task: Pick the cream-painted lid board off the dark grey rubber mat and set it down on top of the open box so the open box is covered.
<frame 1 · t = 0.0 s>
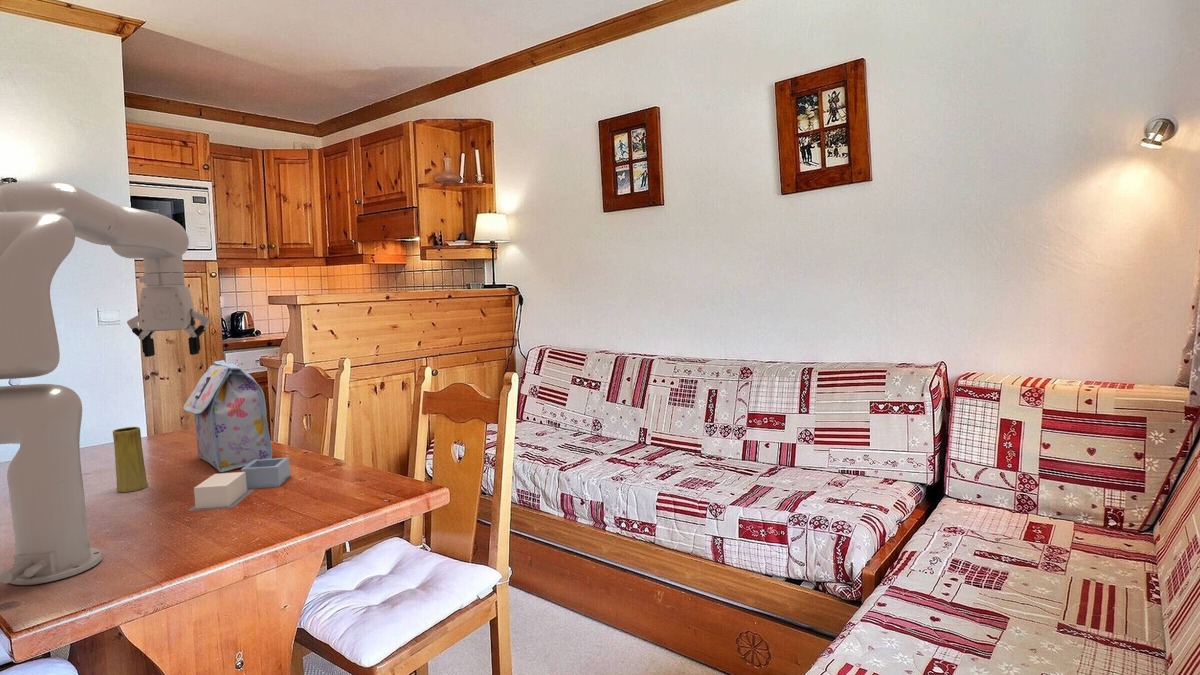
hand: (172, 355, 154), 31 cm above the table, fingers open, 9 cm apart
lunch bag: (230, 462, 178), on the table
open box: (267, 483, 157), on the table
lid: (222, 499, 145), resting on mat
mat: (222, 501, 145), on the table
vase: (132, 489, 157), on the table
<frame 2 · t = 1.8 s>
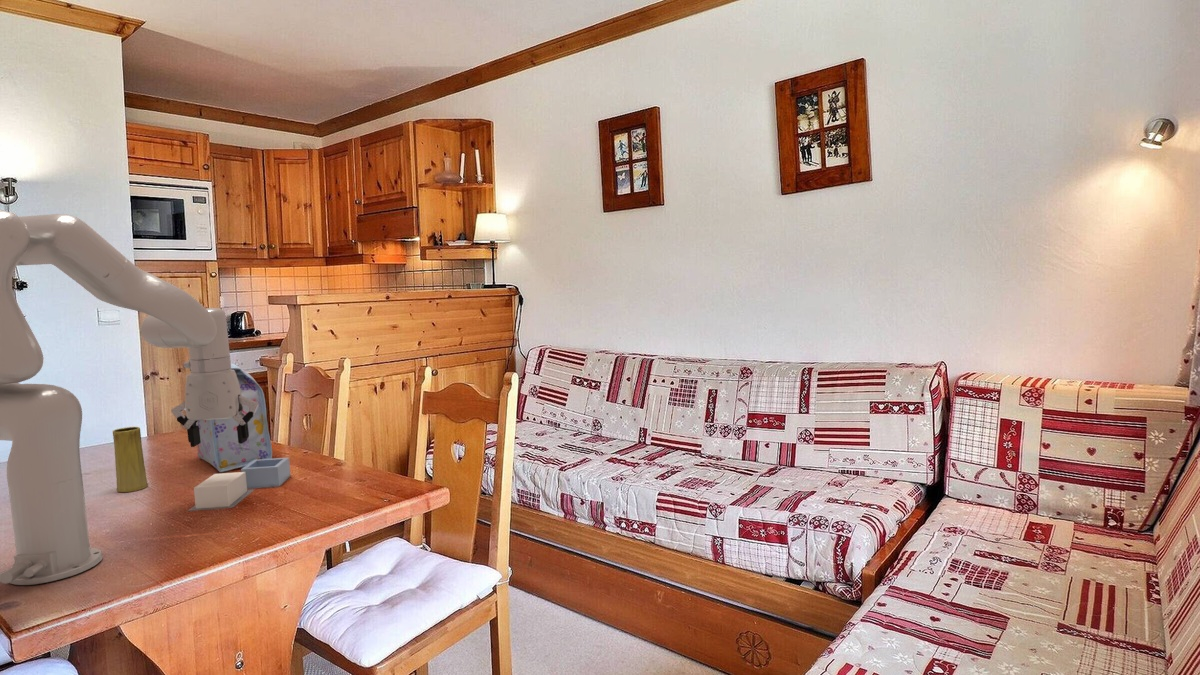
hand: (219, 443, 144), 13 cm above the table, fingers open, 9 cm apart
nothing on the table moved.
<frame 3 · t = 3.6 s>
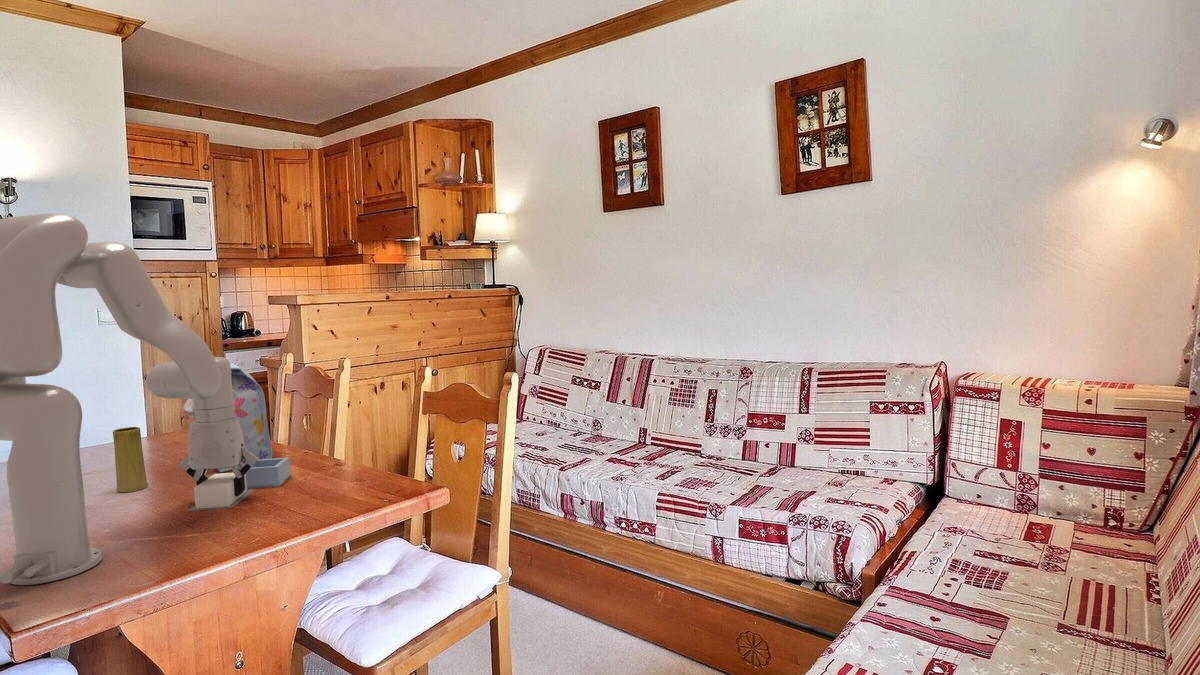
hand: (221, 494, 145), 1 cm above the table, fingers closed on lid, 6 cm apart
lid: (222, 499, 145), resting on mat, touching gripper
everything else where it was.
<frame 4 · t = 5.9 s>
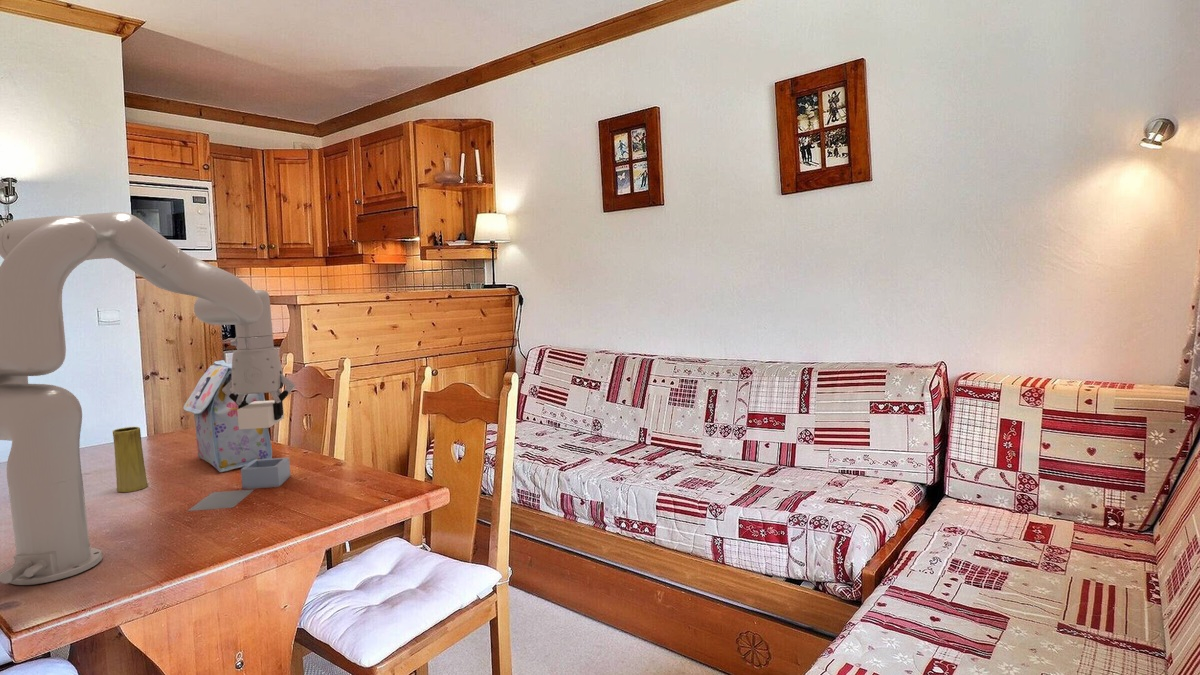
hand: (261, 419, 155), 16 cm above the table, fingers closed on lid, 6 cm apart
lid: (262, 423, 155), point 14 cm above the table, touching gripper
everything else where it was.
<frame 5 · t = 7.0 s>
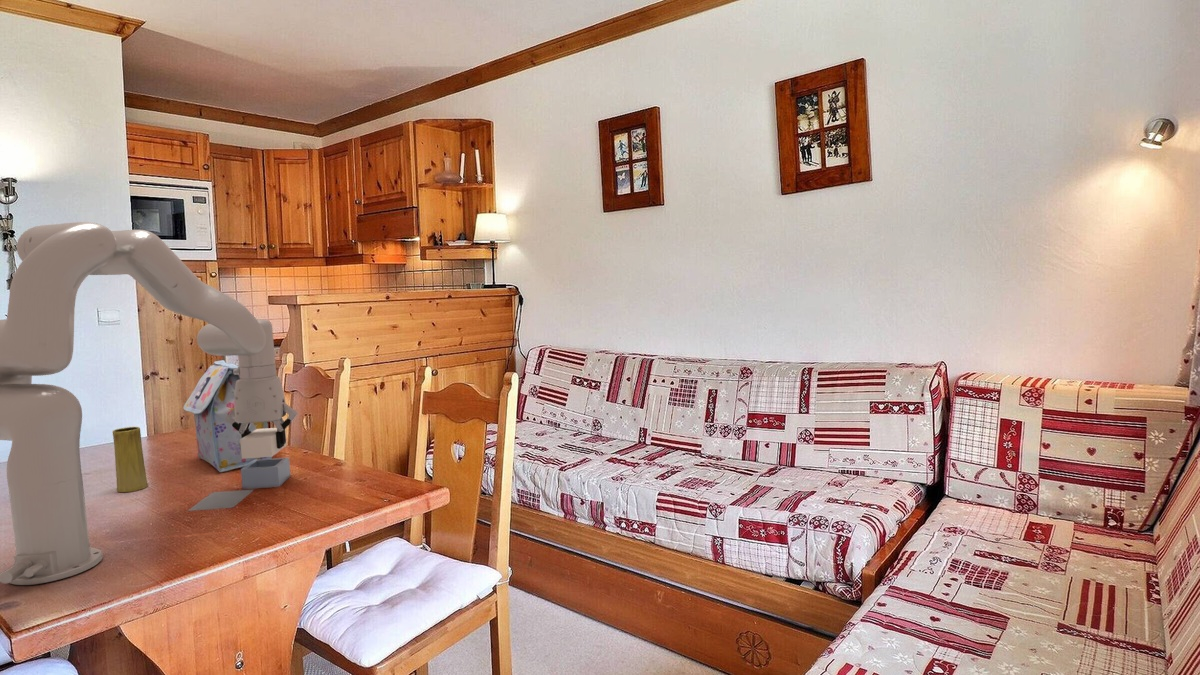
hand: (264, 447, 156), 9 cm above the table, fingers closed on lid, 6 cm apart
lid: (265, 451, 156), point 8 cm above the table, touching gripper
everything else where it was.
when the fingers open (8 cm above the table, at t = 8.1 s): lid drops 1 cm, resting on open box.
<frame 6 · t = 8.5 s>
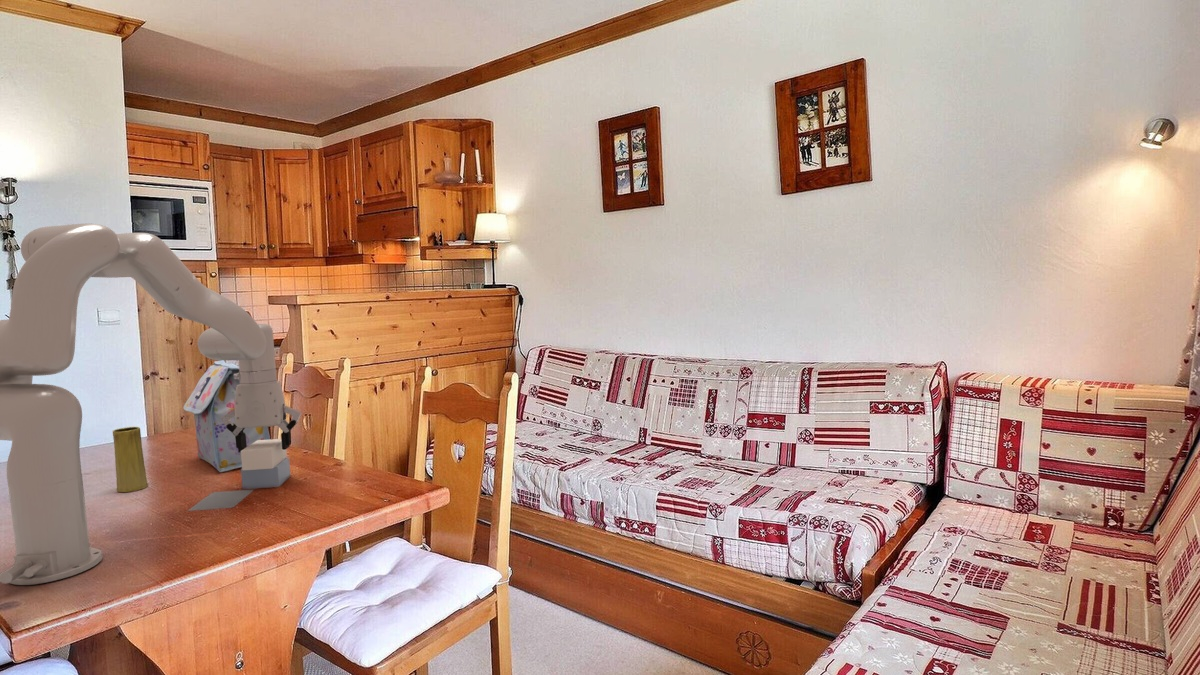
hand: (264, 449, 156), 8 cm above the table, fingers open, 9 cm apart
lid: (265, 463, 156), point 5 cm above the table, touching open box
everything else where it was.
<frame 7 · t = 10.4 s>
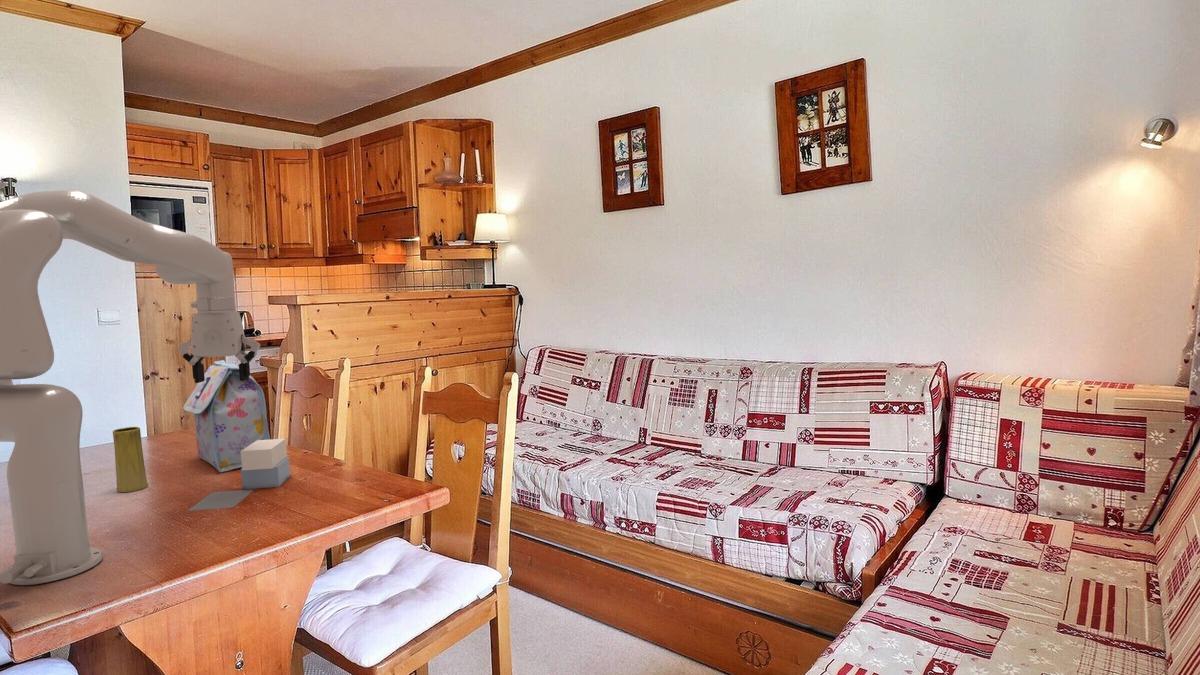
hand: (222, 381, 152), 25 cm above the table, fingers open, 9 cm apart
nothing on the table moved.
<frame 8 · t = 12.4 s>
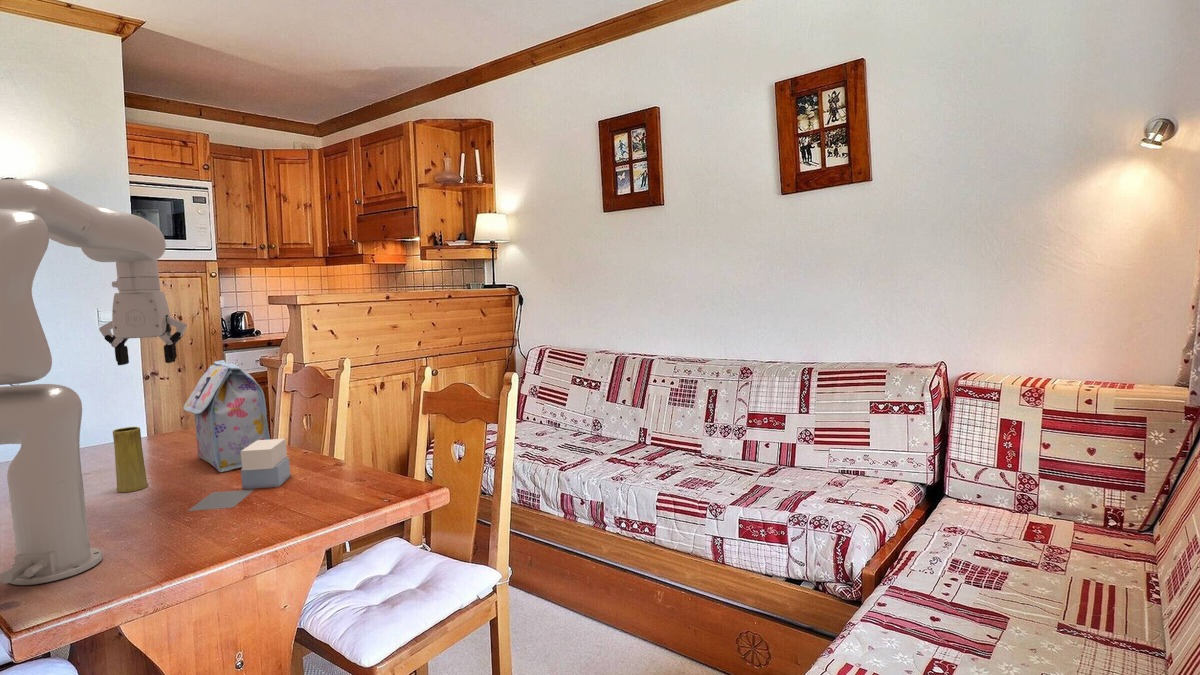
hand: (147, 363, 147), 30 cm above the table, fingers open, 9 cm apart
nothing on the table moved.
at the end: lid 0.1 cm off-centre on the open box, point 5.0 cm above the open box's base; lid tilted 0°; the gripper is holding nothing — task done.
